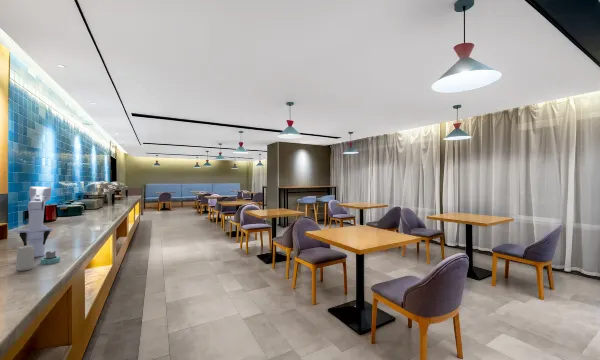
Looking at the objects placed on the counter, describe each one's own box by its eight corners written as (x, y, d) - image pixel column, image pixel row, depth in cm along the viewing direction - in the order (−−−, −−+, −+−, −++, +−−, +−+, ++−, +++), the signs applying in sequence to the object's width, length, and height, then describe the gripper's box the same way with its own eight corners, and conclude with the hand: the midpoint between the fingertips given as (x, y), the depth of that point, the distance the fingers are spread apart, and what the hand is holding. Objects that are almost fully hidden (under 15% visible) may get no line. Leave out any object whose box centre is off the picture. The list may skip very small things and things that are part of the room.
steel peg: (46, 261, 151) (46, 251, 151) (55, 260, 154) (56, 250, 154) (45, 263, 148) (45, 253, 148) (54, 262, 150) (55, 252, 150)
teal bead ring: (41, 261, 152) (42, 257, 152) (60, 259, 156) (60, 255, 156) (39, 265, 145) (39, 260, 145) (58, 262, 150) (59, 258, 150)
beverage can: (22, 272, 135) (23, 248, 135) (12, 270, 136) (13, 247, 136) (36, 268, 141) (37, 245, 141) (27, 266, 142) (28, 244, 142)
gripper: (15, 223, 144) (14, 248, 144) (52, 221, 152) (51, 245, 152) (19, 221, 149) (18, 245, 149) (53, 219, 158) (52, 242, 158)
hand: (34, 245), depth 151 cm, fingers open, 7 cm apart
